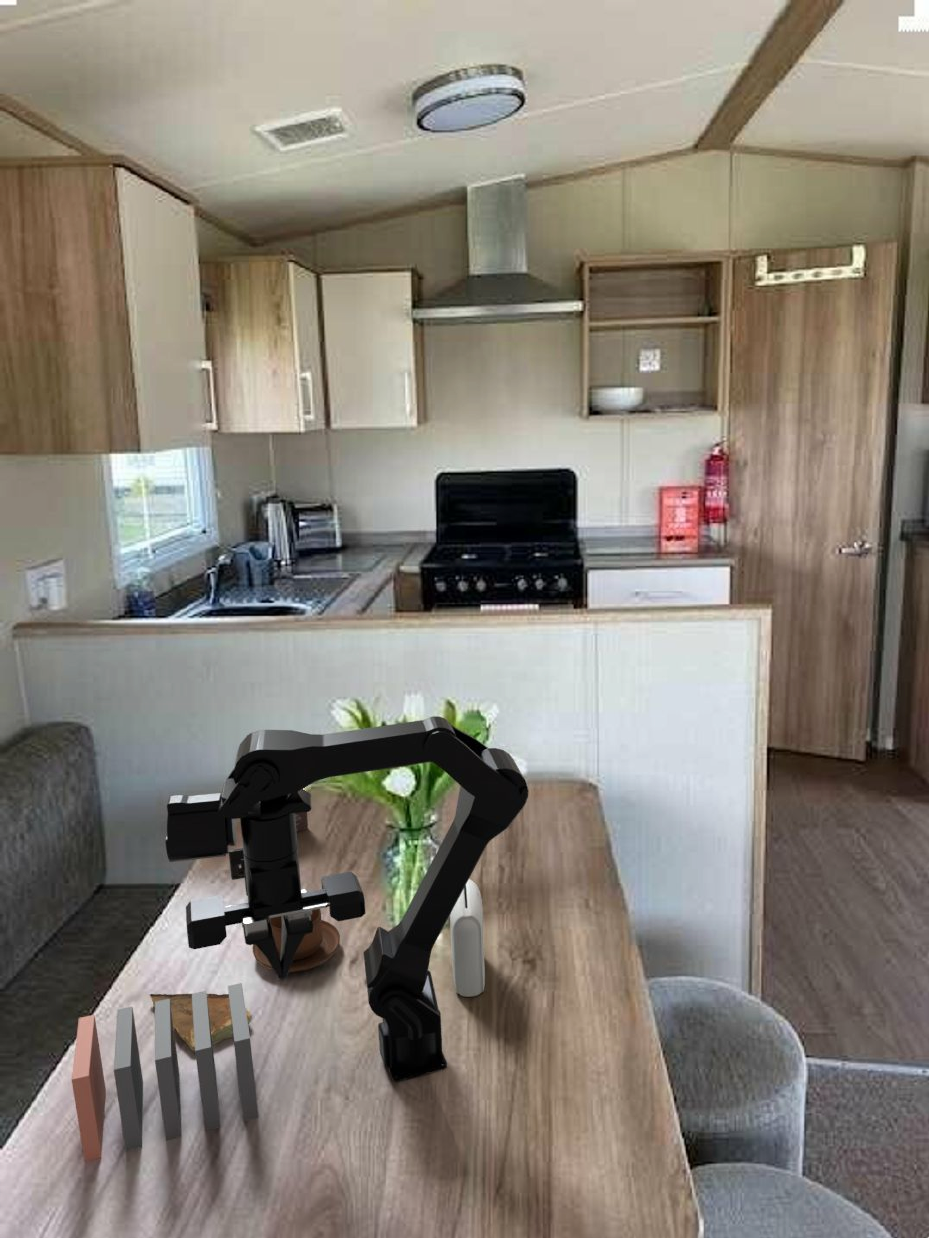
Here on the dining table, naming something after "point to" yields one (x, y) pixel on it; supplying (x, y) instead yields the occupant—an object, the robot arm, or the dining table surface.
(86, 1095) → the domino
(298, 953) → the cup and saucer
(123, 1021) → the domino
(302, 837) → the dining table surface
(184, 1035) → the shard
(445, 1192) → the dining table surface
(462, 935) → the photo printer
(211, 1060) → the domino
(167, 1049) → the domino
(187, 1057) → the dining table surface
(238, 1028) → the domino
